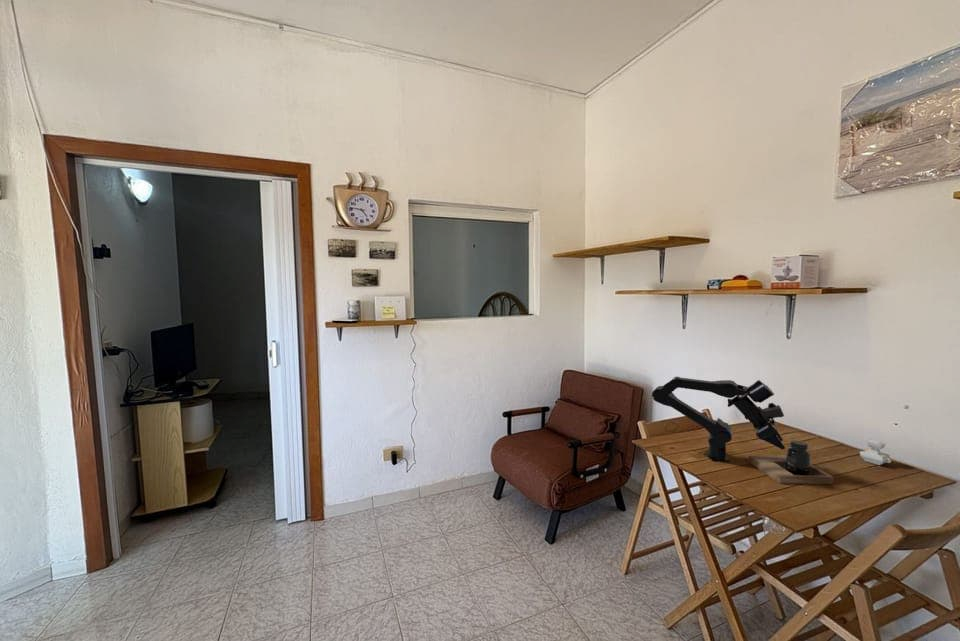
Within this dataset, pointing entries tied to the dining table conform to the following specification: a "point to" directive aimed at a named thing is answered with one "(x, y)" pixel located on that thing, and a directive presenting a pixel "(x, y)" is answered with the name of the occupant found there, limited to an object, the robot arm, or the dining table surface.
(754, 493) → the dining table surface
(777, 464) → the tan flat square frame
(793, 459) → the supplement bottle
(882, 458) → the stamp
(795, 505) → the dining table surface
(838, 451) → the dining table surface
